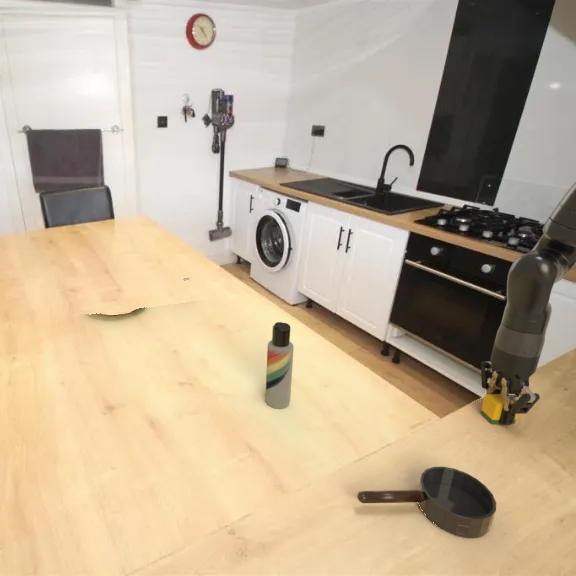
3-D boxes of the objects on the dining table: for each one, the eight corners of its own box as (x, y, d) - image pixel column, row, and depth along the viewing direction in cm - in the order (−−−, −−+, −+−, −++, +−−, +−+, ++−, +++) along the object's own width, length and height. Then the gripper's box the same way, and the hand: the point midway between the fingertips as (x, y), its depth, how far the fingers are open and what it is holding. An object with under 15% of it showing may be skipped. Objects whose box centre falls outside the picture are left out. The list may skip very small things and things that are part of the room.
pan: (464, 483, 72) (468, 465, 71) (506, 537, 63) (512, 518, 61) (405, 484, 72) (408, 467, 71) (438, 538, 63) (443, 519, 61)
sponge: (502, 412, 90) (508, 393, 88) (515, 423, 87) (521, 403, 85) (480, 413, 90) (485, 394, 88) (491, 424, 87) (496, 404, 85)
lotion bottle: (274, 391, 100) (278, 317, 93) (294, 401, 96) (300, 324, 89) (260, 402, 96) (263, 325, 89) (280, 412, 92) (285, 333, 85)
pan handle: (420, 495, 68) (422, 487, 67) (426, 504, 66) (428, 496, 65) (354, 496, 68) (356, 488, 67) (359, 506, 66) (360, 497, 65)
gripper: (566, 364, 76) (541, 439, 81) (510, 330, 89) (492, 397, 95) (525, 365, 76) (503, 440, 82) (475, 331, 89) (459, 397, 95)
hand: (497, 416), depth 88 cm, fingers open, 3 cm apart
